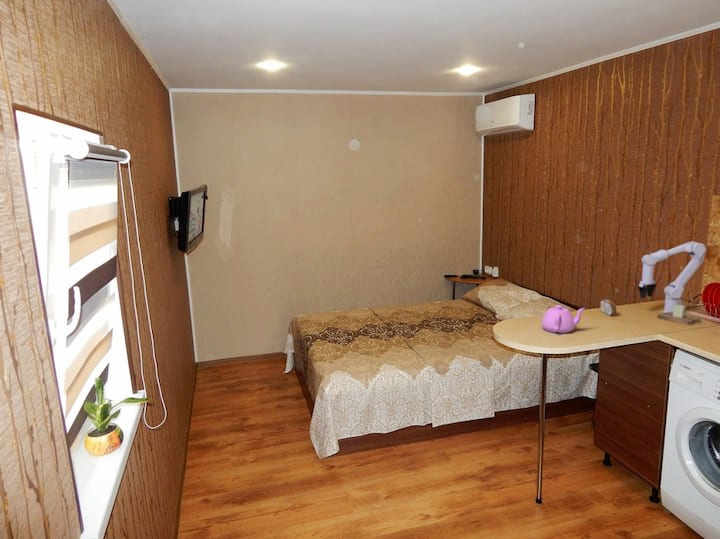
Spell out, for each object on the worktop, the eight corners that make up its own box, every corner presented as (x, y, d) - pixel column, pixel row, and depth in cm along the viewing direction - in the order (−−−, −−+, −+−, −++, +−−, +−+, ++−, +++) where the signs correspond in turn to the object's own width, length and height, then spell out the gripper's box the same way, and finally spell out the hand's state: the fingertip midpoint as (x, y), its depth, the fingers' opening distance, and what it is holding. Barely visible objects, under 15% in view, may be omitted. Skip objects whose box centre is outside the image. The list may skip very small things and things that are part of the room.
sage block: (675, 314, 271) (676, 304, 270) (684, 316, 268) (685, 305, 267) (672, 316, 268) (673, 306, 267) (682, 317, 265) (683, 307, 264)
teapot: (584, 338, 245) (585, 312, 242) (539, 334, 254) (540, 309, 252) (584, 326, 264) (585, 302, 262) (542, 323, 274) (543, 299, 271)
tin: (616, 317, 279) (617, 303, 278) (611, 317, 279) (611, 303, 278) (604, 310, 294) (604, 297, 292) (599, 310, 294) (599, 297, 292)
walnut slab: (670, 316, 278) (670, 311, 278) (700, 323, 263) (700, 318, 262) (657, 319, 274) (657, 314, 274) (687, 326, 259) (687, 321, 258)
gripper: (647, 272, 290) (645, 294, 293) (634, 275, 283) (633, 297, 285) (659, 273, 285) (657, 295, 287) (646, 277, 277) (645, 299, 279)
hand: (646, 296), depth 286 cm, fingers open, 7 cm apart
